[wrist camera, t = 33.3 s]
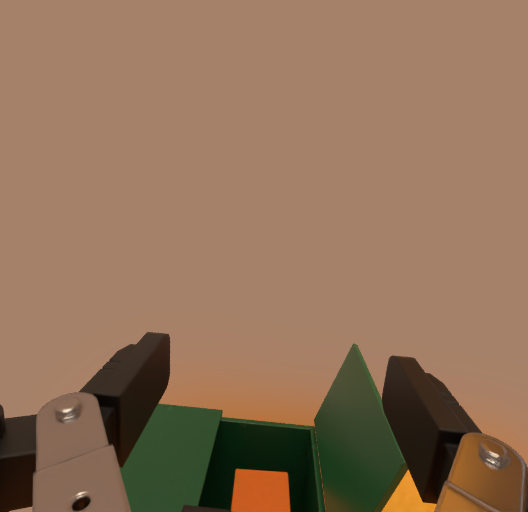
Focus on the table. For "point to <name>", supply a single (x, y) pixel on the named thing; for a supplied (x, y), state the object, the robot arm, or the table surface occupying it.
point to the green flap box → (216, 460)
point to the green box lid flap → (356, 442)
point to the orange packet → (260, 491)
